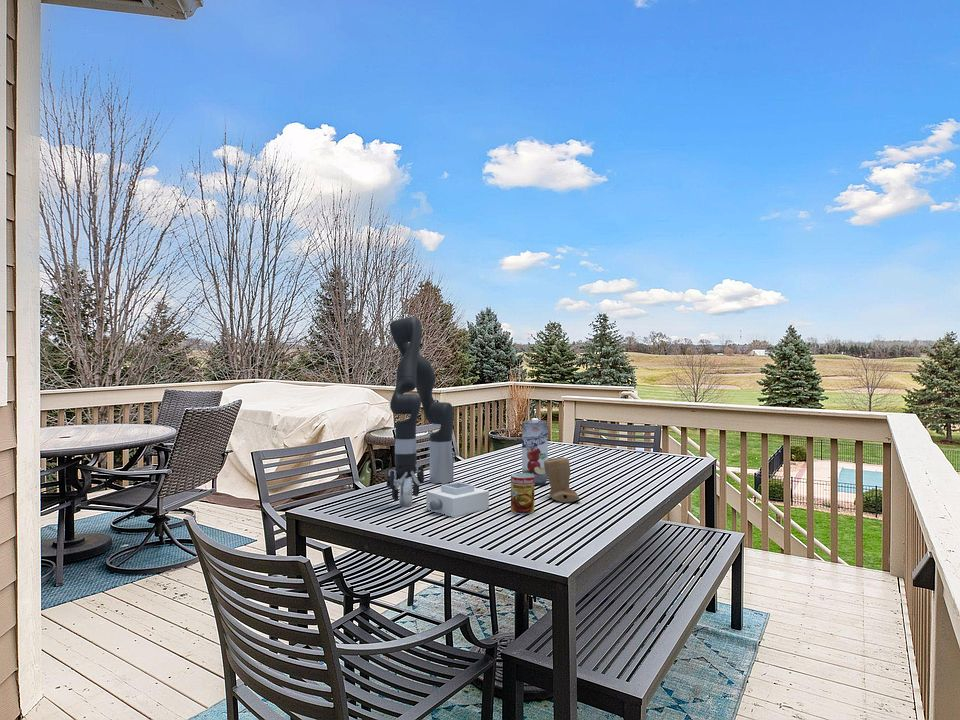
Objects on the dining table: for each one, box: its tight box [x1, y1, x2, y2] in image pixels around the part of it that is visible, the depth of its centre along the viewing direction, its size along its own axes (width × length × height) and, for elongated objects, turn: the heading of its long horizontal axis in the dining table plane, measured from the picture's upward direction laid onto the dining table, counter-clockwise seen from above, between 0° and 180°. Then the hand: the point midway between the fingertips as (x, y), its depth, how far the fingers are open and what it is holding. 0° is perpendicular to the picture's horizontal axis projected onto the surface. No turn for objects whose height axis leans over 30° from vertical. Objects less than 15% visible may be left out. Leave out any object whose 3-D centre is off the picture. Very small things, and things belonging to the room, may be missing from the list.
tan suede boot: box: [544, 456, 580, 503], centre depth 206 cm, size 15×12×15 cm
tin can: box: [398, 477, 413, 508], centre depth 196 cm, size 4×4×10 cm
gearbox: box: [425, 481, 490, 518], centre depth 190 cm, size 19×14×8 cm
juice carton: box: [521, 417, 549, 486], centre depth 232 cm, size 9×10×27 cm
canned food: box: [510, 472, 535, 515], centre depth 189 cm, size 8×8×12 cm
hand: (405, 497), depth 196 cm, fingers open, 8 cm apart
